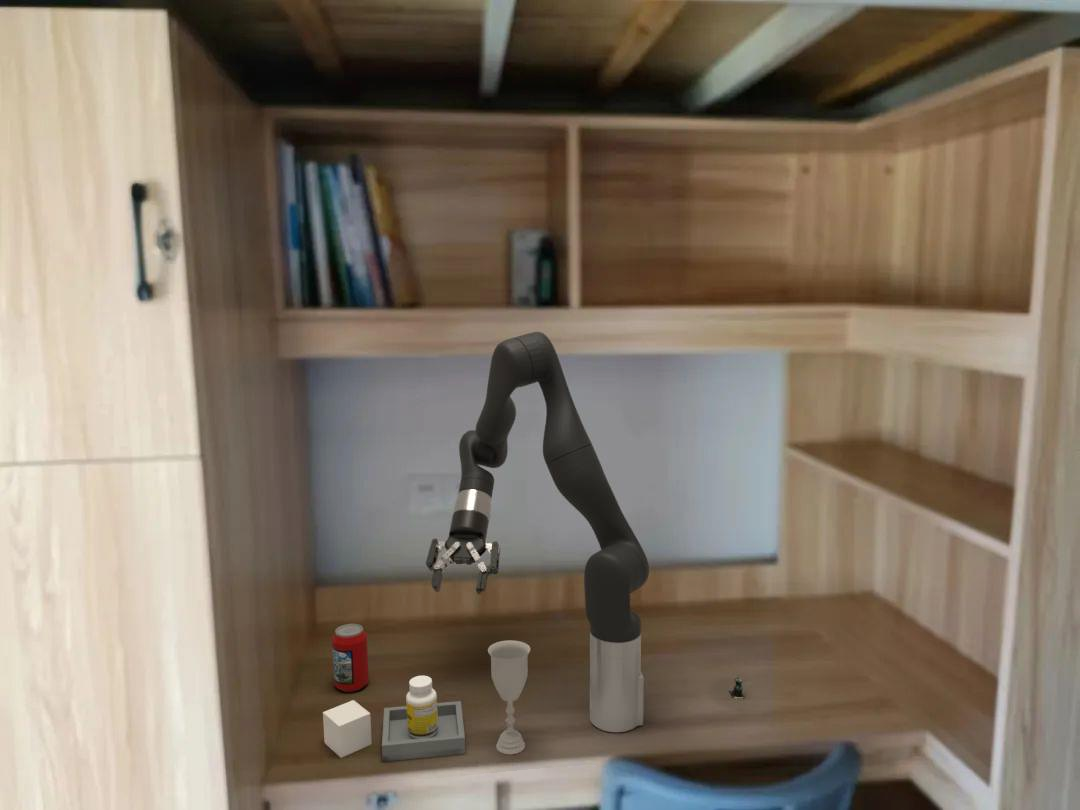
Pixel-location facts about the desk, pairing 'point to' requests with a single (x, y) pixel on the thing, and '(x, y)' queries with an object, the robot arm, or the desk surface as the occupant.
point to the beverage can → (350, 657)
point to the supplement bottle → (421, 708)
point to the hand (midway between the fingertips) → (457, 591)
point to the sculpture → (737, 689)
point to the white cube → (347, 728)
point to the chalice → (509, 686)
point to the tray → (441, 744)
